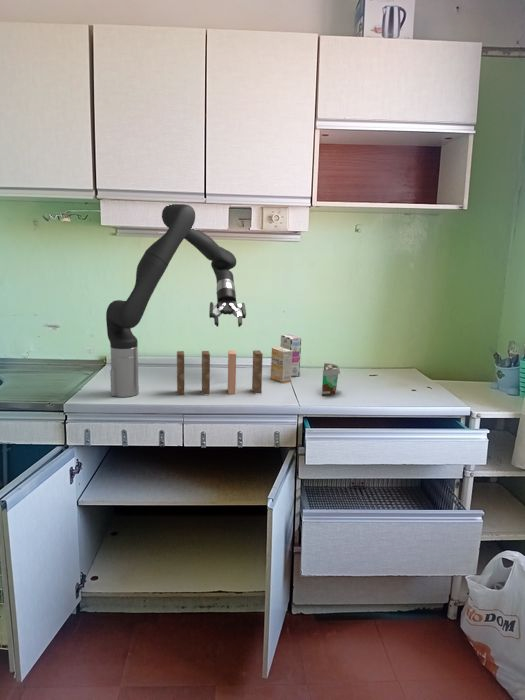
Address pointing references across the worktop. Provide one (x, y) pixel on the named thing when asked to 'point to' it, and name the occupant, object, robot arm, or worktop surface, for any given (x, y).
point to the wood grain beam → (257, 371)
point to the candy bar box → (294, 345)
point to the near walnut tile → (180, 372)
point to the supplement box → (281, 364)
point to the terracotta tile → (231, 372)
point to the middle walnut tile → (205, 372)
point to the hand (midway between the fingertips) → (228, 325)
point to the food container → (330, 379)
